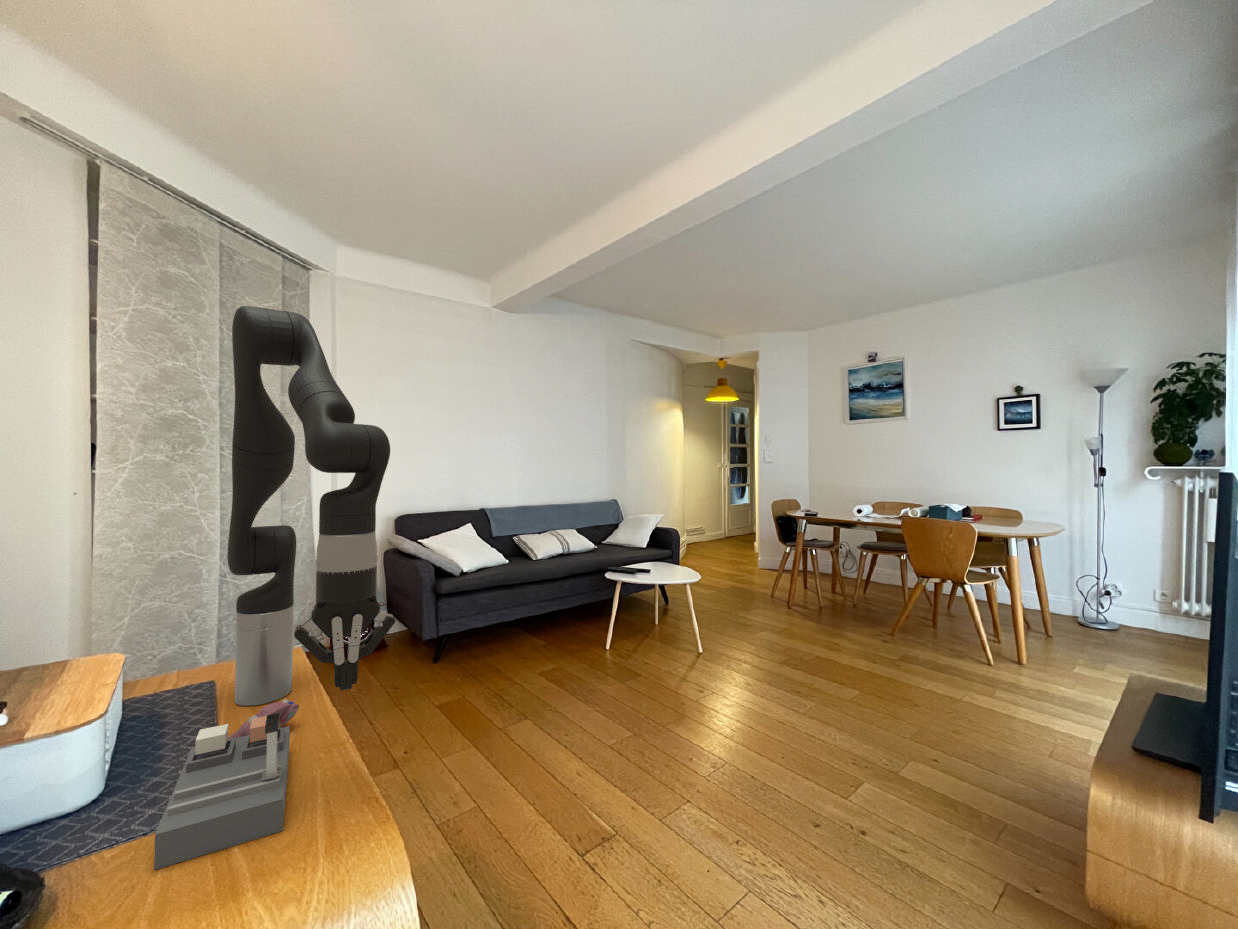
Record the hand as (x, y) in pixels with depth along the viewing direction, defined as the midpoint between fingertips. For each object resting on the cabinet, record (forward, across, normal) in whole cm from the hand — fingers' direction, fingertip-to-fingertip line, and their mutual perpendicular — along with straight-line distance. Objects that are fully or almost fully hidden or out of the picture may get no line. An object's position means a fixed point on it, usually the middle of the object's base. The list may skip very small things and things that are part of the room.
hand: (345, 687), depth 70 cm
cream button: (+9, +16, -10) cm, 21 cm away
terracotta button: (+9, +10, -10) cm, 17 cm away
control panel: (+14, +13, -5) cm, 20 cm away
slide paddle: (+10, +8, 0) cm, 13 cm away
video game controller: (+15, +11, -22) cm, 28 cm away
